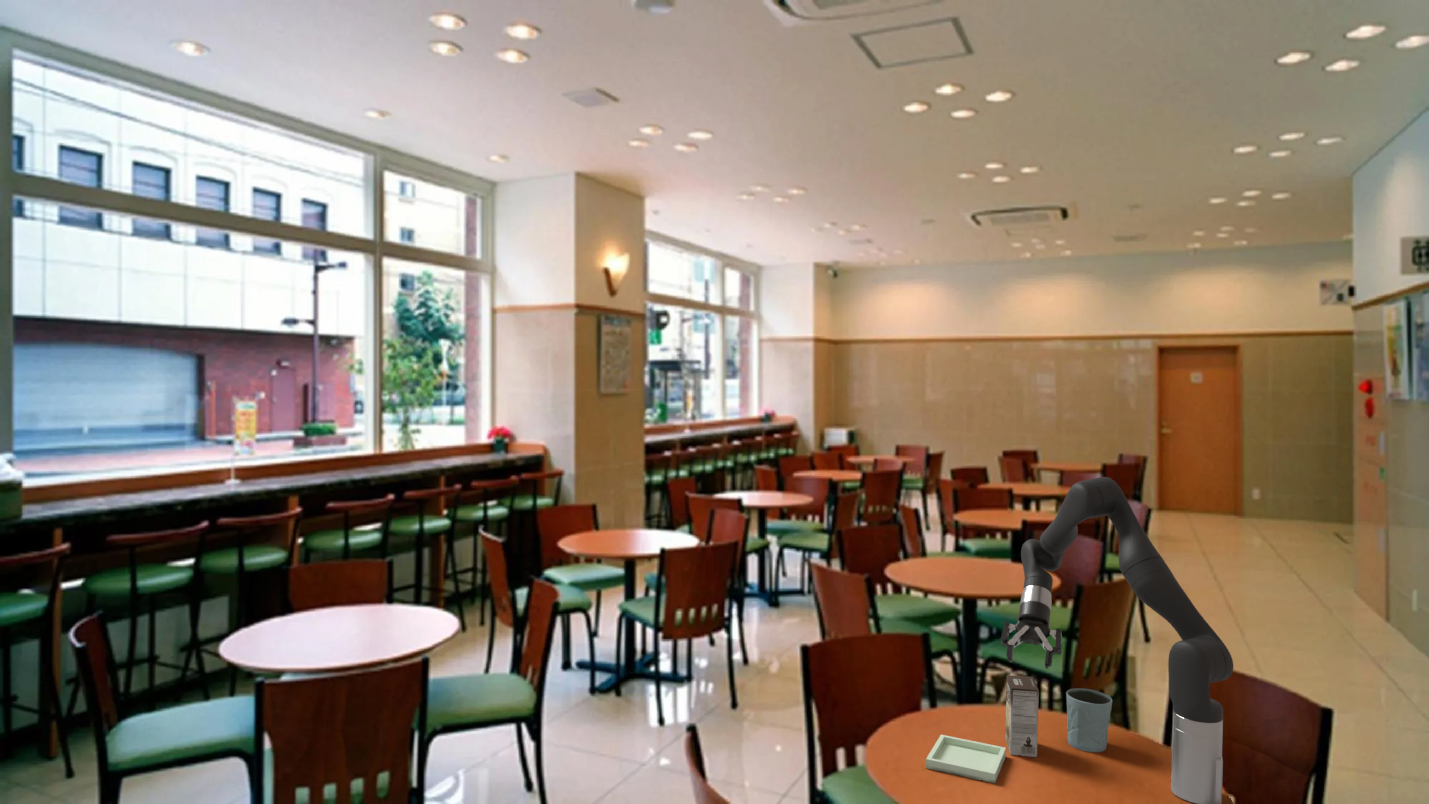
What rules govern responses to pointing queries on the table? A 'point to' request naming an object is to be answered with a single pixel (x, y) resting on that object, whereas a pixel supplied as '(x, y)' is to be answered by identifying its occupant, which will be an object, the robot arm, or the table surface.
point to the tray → (966, 758)
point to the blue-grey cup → (1088, 719)
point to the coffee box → (1022, 715)
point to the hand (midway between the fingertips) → (1028, 663)
